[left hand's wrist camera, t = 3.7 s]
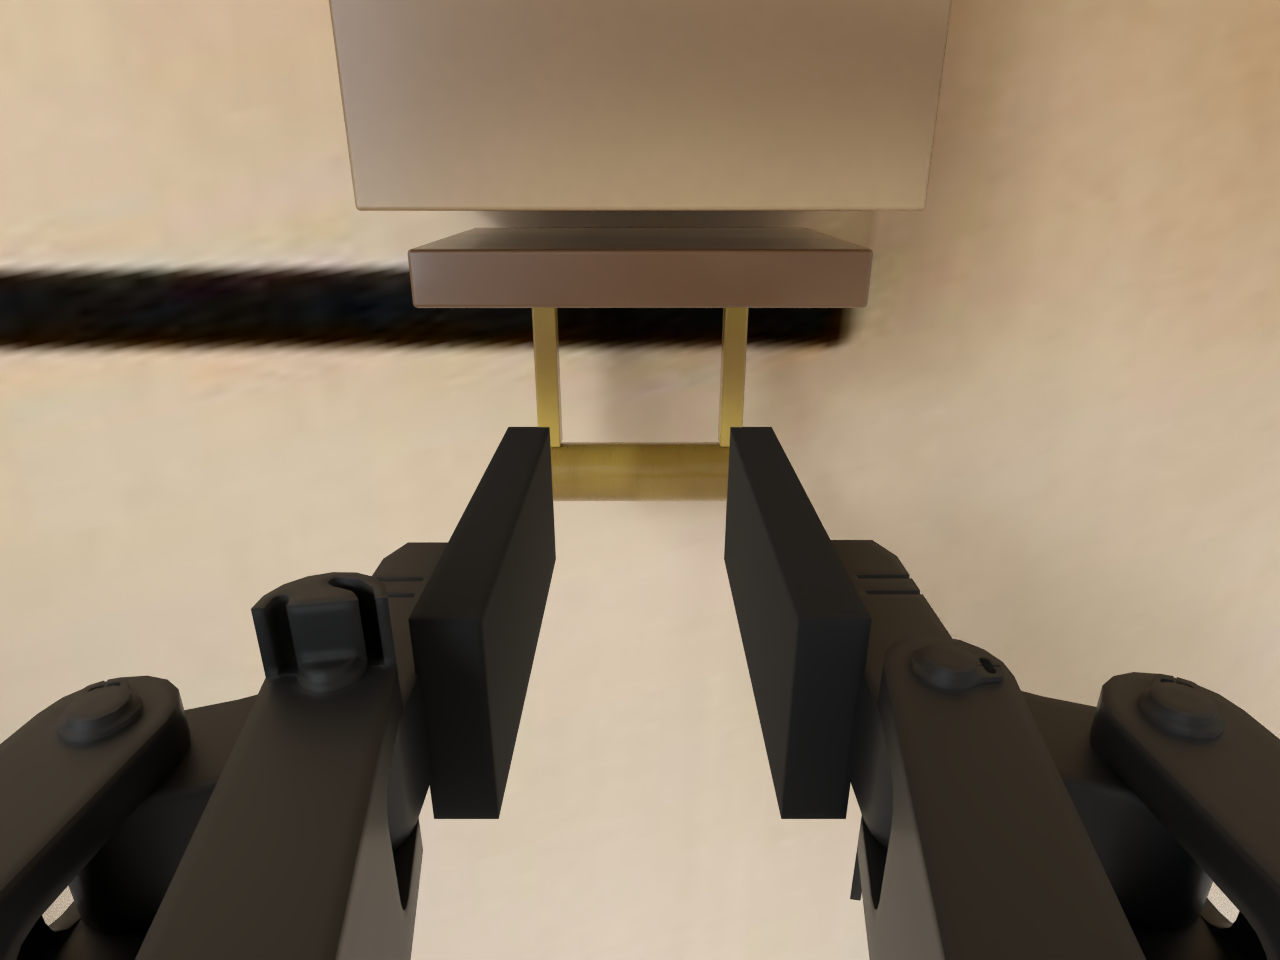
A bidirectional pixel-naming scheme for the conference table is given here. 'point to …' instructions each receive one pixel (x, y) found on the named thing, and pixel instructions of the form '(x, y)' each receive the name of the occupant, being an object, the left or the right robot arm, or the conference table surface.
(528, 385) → the conference table surface
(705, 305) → the drawer
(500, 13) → the cabinet
